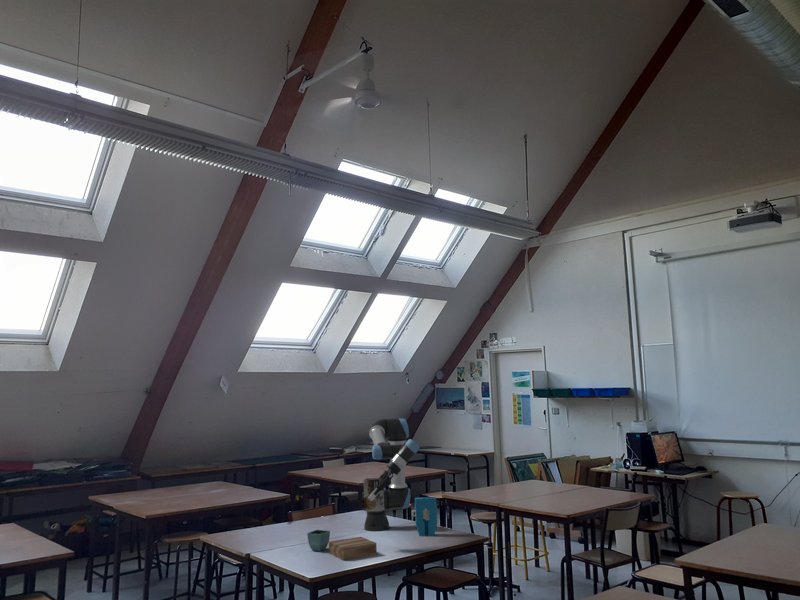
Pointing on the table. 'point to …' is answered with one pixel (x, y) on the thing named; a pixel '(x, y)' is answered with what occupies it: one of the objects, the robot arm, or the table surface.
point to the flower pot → (318, 539)
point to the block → (429, 525)
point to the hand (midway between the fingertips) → (368, 498)
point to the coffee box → (368, 489)
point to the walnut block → (352, 548)
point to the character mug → (423, 514)
